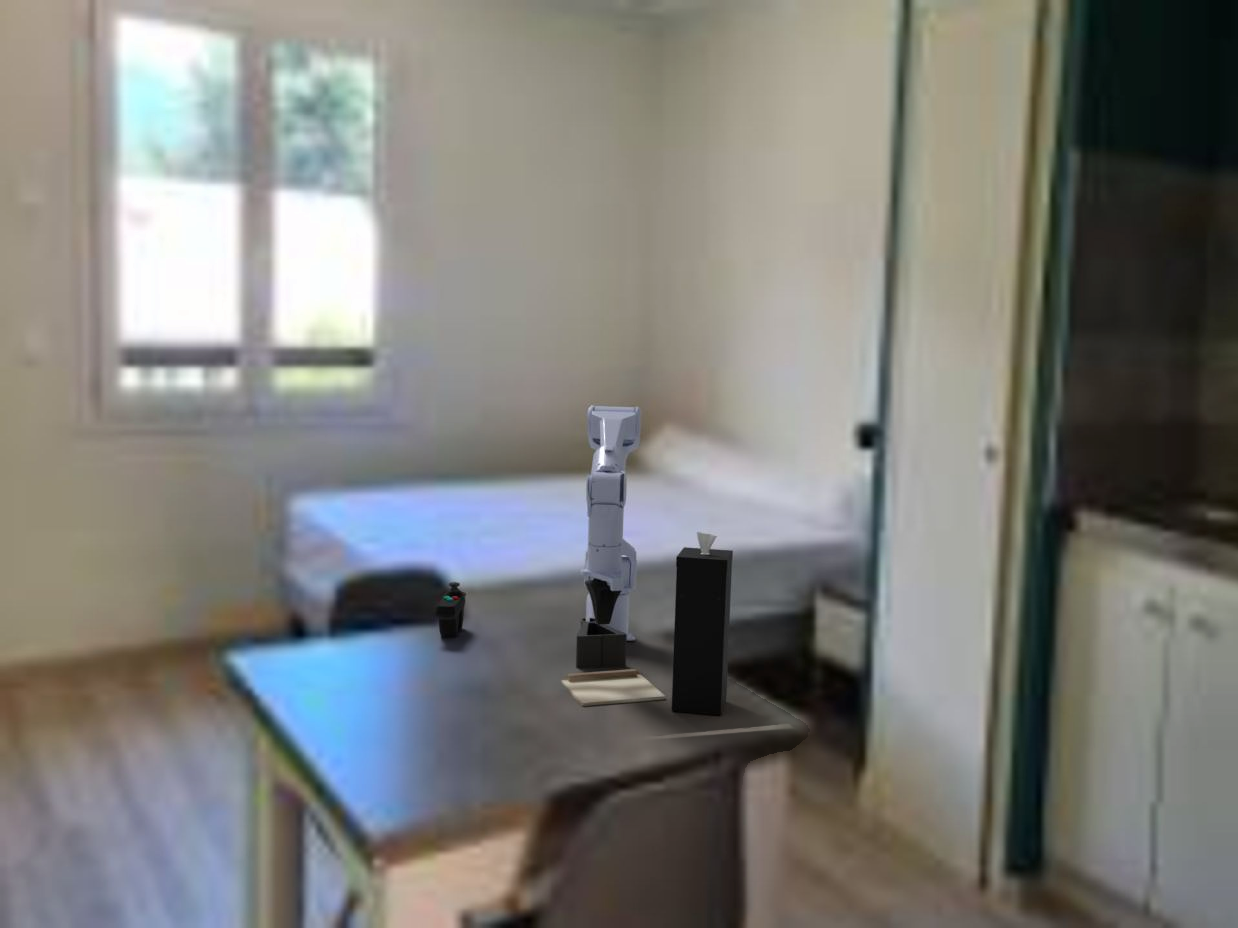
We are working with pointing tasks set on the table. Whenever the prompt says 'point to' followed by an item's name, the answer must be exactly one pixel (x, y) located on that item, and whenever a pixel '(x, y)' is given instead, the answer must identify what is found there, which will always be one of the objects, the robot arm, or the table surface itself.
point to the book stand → (610, 687)
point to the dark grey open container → (600, 646)
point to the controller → (451, 611)
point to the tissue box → (701, 628)
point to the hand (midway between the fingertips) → (602, 623)
